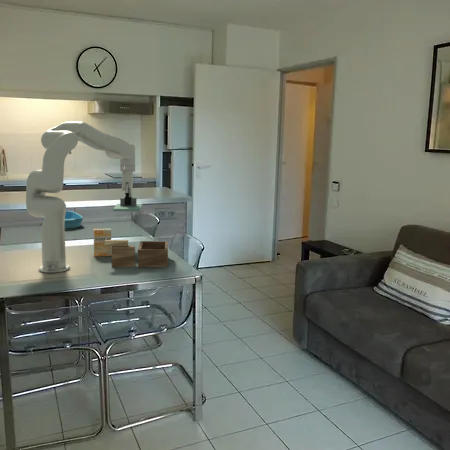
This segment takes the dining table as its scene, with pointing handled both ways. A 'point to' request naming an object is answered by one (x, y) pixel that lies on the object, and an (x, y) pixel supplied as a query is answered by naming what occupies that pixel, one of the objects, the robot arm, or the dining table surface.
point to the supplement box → (102, 242)
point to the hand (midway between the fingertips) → (128, 204)
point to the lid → (132, 207)
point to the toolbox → (141, 255)
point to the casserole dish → (72, 220)
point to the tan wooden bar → (116, 242)
